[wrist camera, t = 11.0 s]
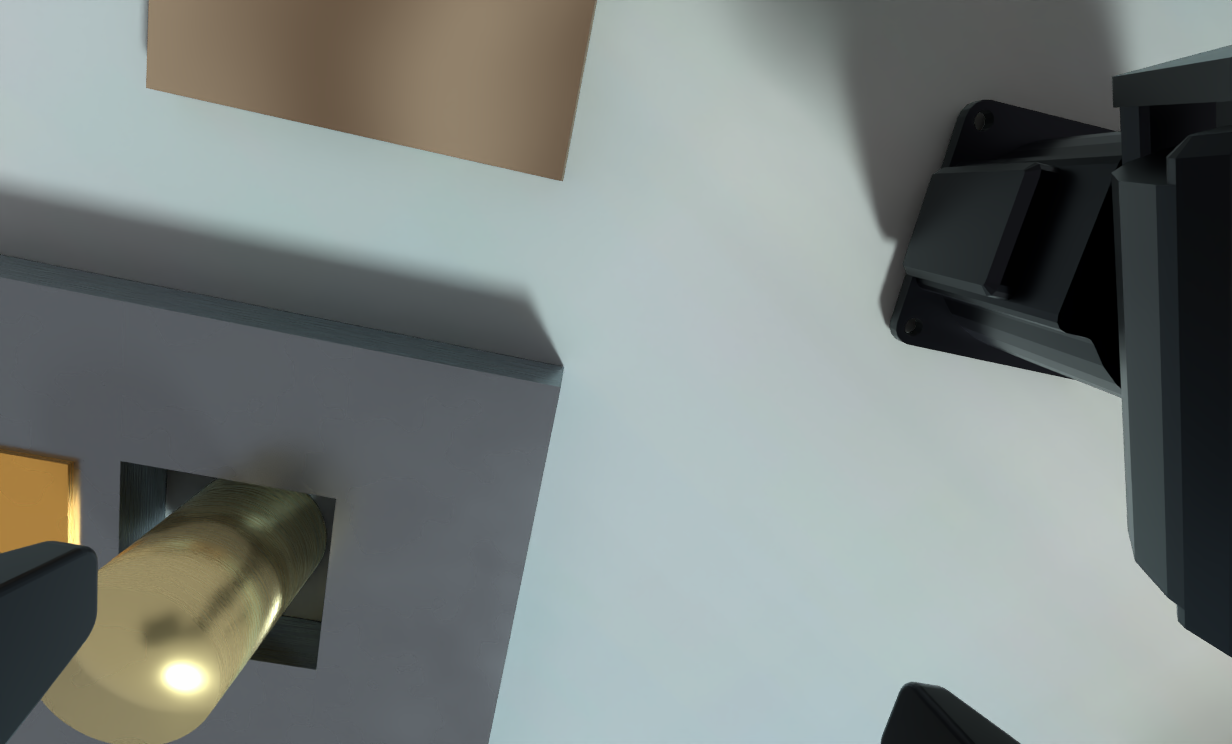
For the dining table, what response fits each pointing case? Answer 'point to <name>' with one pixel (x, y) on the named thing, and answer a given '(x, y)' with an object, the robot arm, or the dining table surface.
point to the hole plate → (287, 487)
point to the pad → (389, 69)
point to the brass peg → (188, 612)
